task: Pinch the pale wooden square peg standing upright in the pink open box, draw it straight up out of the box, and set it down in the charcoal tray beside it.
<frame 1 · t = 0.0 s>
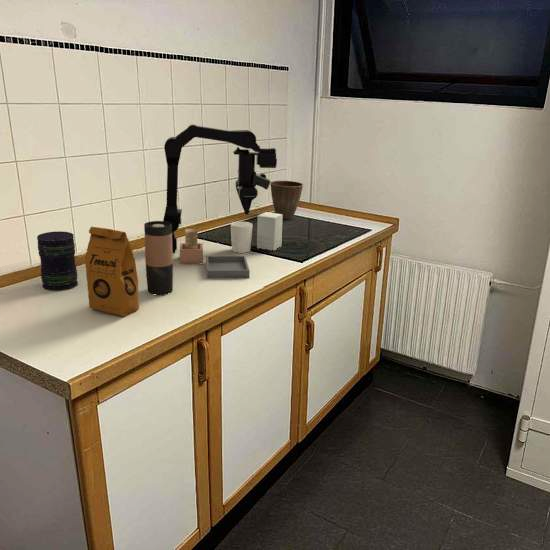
hand: (245, 211, 192), 15 cm above the counter, tool pointing down, fingers open, 9 cm apart
storage jar: (60, 285, 157), on the counter
supplement box: (269, 247, 202), on the counter
charcoal tray: (227, 270, 175), on the counter
plant pot: (285, 218, 249), on the counter
wooden peg: (191, 258, 183), point 1 cm above the counter, touching pink open box
pink open box: (191, 260, 183), on the counter
travel mug: (160, 291, 155), on the counter
white cup: (241, 251, 197), on the counter
coffee package: (115, 310, 142), on the counter
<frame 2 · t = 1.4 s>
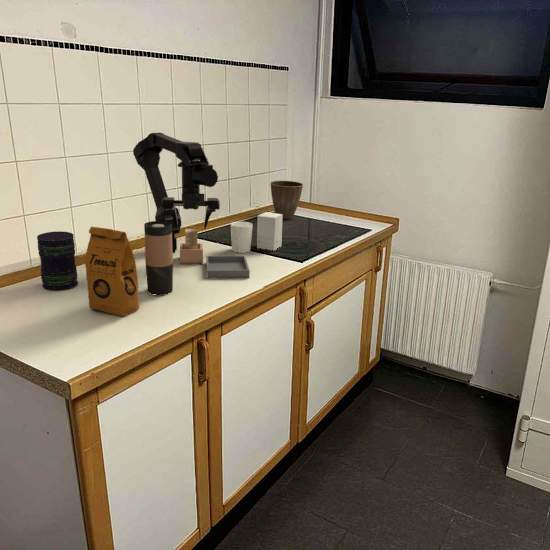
hand: (191, 228, 179), 11 cm above the counter, tool pointing down, fingers open, 9 cm apart
nothing on the counter moved.
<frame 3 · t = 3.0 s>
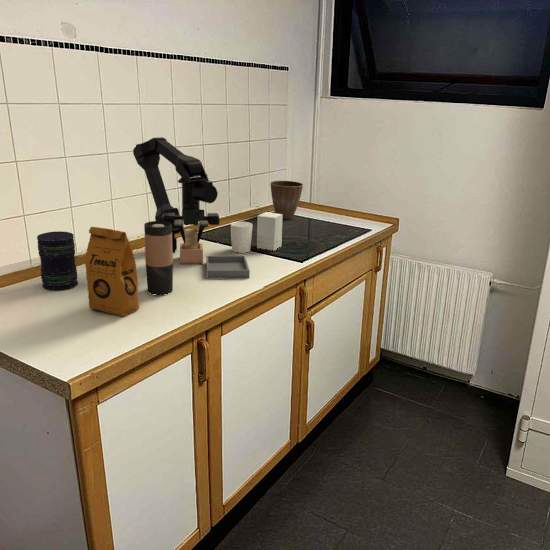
hand: (191, 243, 181), 6 cm above the counter, tool pointing down, fingers closed on wooden peg, 4 cm apart
wooden peg: (191, 258, 183), point 1 cm above the counter, touching gripper, pink open box
everything else where it was.
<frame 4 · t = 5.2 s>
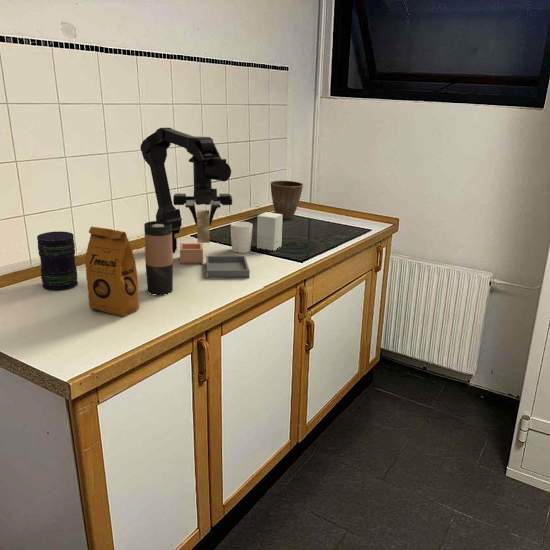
hand: (203, 225, 176), 13 cm above the counter, tool pointing down, fingers closed on wooden peg, 4 cm apart
wooden peg: (203, 241, 178), point 8 cm above the counter, touching gripper
everything else where it was.
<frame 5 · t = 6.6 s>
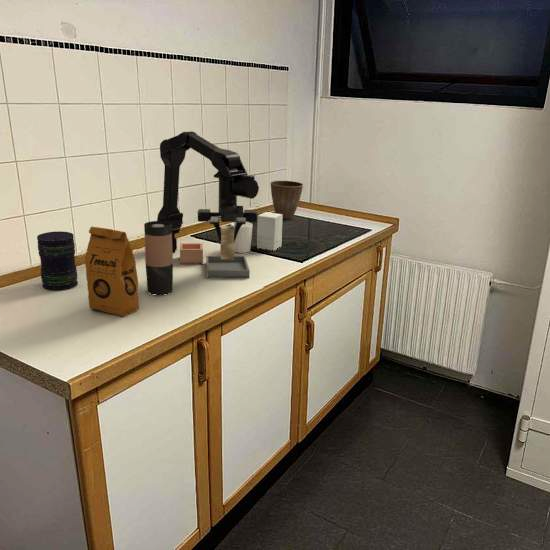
hand: (227, 241, 172), 10 cm above the counter, tool pointing down, fingers closed on wooden peg, 4 cm apart
wooden peg: (226, 257, 174), point 4 cm above the counter, touching gripper
everything else where it was.
when the fingers open (7 cm above the counter, at t = 7.7 s): wooden peg drops 2 cm, resting on charcoal tray.
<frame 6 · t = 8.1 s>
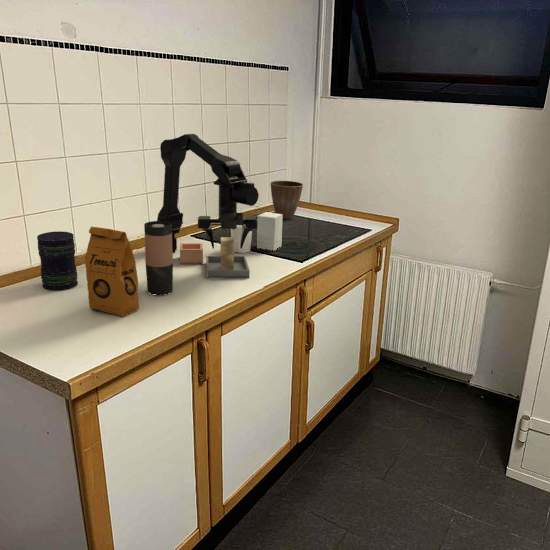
hand: (227, 248, 173), 7 cm above the counter, tool pointing down, fingers open, 9 cm apart
wooden peg: (226, 268, 175), point 1 cm above the counter, touching charcoal tray
everything else where it was.
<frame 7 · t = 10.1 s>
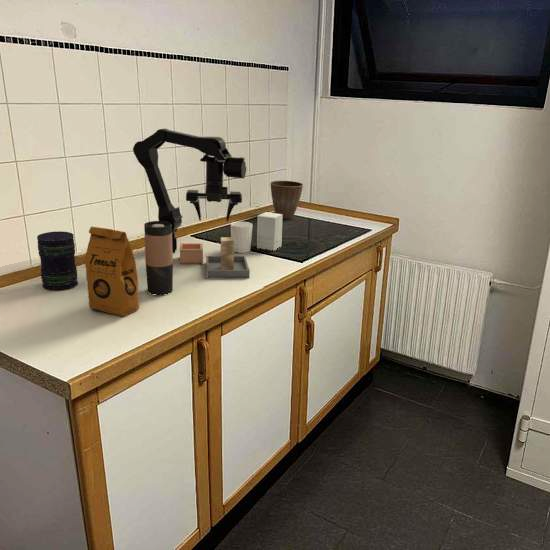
hand: (213, 220, 185), 13 cm above the counter, tool pointing down, fingers open, 9 cm apart
nothing on the counter moved.
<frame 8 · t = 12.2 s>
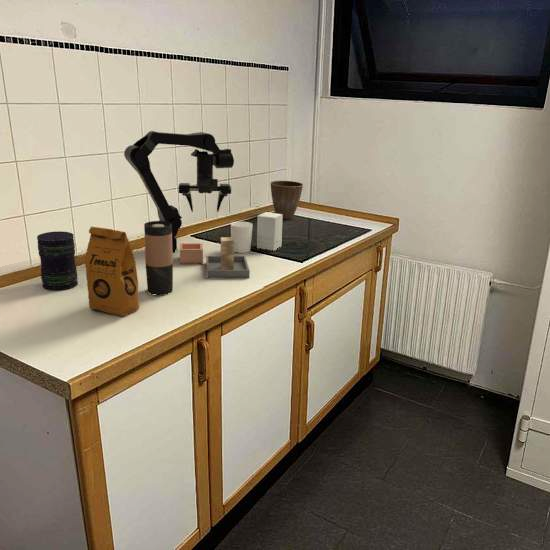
hand: (204, 211, 196), 13 cm above the counter, tool pointing down, fingers open, 9 cm apart
nothing on the counter moved.
at the end: wooden peg inside the target area on the charcoal tray (0.0 cm from its centre), point 0.6 cm above the charcoal tray's base; the gripper is holding nothing; wooden peg moved 15.6 cm from its start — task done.
